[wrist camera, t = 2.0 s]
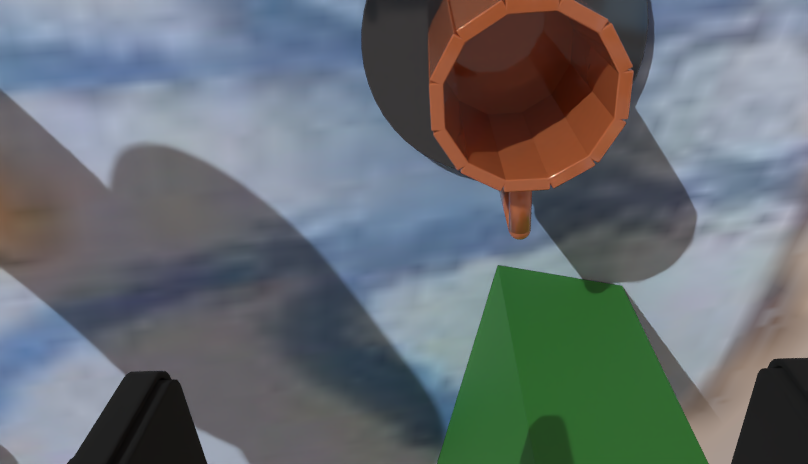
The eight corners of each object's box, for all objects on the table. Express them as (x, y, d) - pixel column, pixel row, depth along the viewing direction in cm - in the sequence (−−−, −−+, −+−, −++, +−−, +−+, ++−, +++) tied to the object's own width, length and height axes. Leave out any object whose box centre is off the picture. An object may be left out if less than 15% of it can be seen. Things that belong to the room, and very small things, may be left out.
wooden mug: (424, -29, 26) (424, 4, 19) (584, -41, 26) (644, -12, 19) (435, 177, 31) (438, 262, 24) (570, 169, 30) (612, 254, 24)
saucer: (313, -35, 27) (310, -33, 26) (600, -181, 24) (606, -182, 23) (427, 203, 33) (427, 210, 32) (670, 110, 30) (676, 115, 29)
